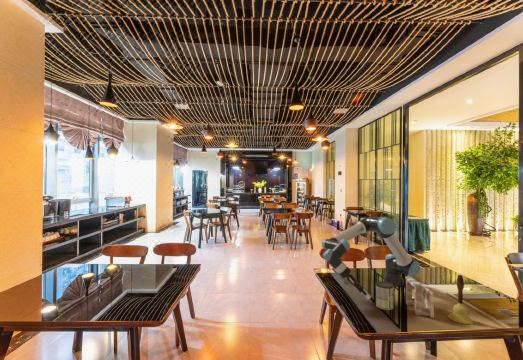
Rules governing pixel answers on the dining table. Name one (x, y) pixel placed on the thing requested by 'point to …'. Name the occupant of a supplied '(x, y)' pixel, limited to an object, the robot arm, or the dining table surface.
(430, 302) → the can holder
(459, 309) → the handbell
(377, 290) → the coffee can
